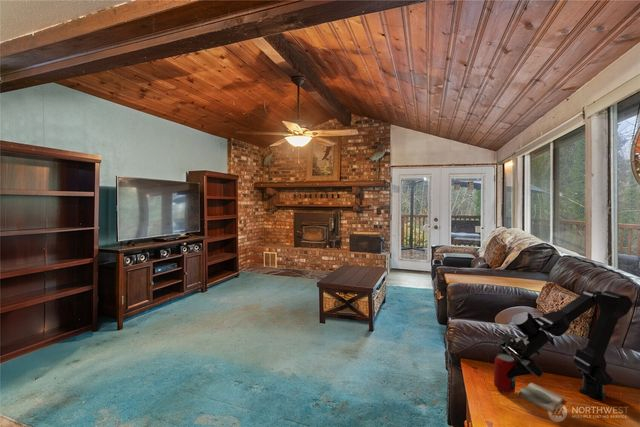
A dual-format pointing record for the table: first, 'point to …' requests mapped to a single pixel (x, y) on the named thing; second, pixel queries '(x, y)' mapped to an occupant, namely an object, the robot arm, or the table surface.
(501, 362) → the beverage can
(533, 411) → the table surface
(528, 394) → the birch board
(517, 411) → the table surface
